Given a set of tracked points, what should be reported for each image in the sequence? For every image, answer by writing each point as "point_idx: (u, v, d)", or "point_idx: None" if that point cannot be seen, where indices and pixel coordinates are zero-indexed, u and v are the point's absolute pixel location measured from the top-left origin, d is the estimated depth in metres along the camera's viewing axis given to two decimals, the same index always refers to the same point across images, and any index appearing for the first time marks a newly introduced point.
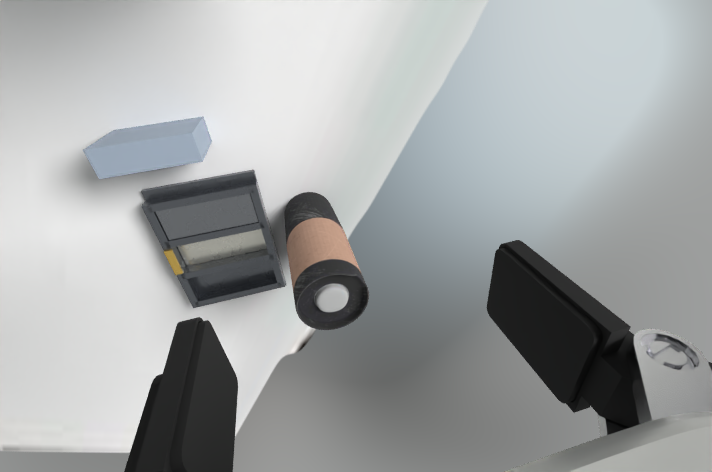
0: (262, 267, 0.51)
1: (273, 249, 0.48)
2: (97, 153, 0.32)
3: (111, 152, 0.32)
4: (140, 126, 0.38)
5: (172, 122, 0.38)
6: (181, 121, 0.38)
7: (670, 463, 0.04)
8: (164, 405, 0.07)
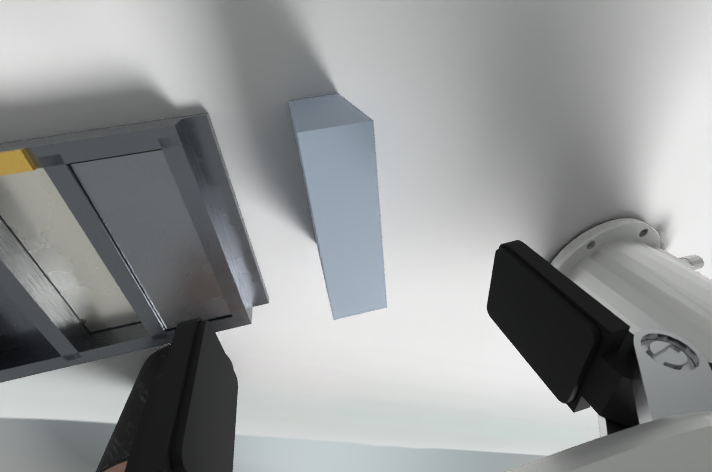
0: (23, 326, 0.22)
1: (97, 357, 0.22)
2: (362, 148, 0.13)
3: (362, 177, 0.14)
4: None
5: None
6: None
7: (670, 463, 0.04)
8: (164, 405, 0.07)
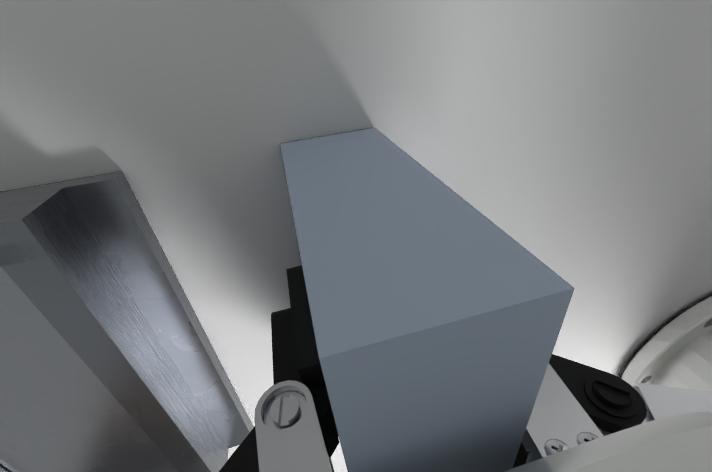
0: None
1: None
2: (519, 357, 0.04)
3: (498, 411, 0.05)
4: None
5: None
6: None
7: (670, 463, 0.04)
8: (301, 323, 0.08)
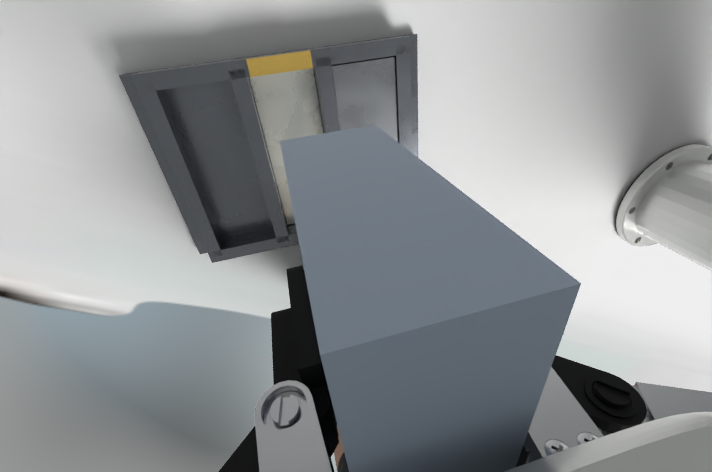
0: (243, 215, 0.27)
1: None
2: (523, 354, 0.04)
3: (502, 409, 0.05)
4: None
5: None
6: None
7: (670, 463, 0.04)
8: (301, 323, 0.08)
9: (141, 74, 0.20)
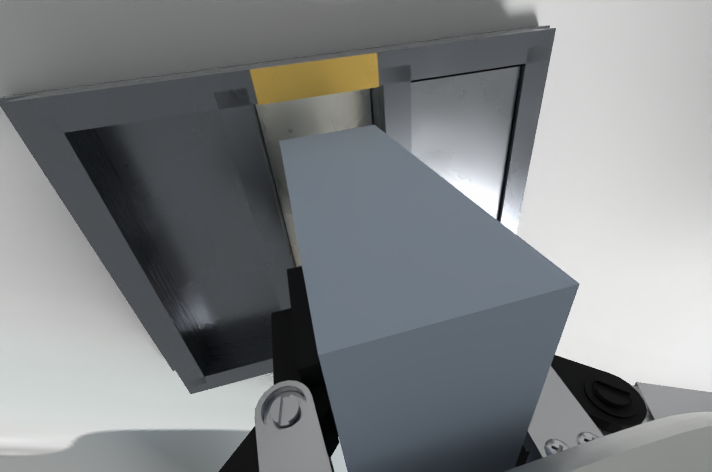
0: (241, 315, 0.17)
1: None
2: (522, 355, 0.04)
3: (501, 409, 0.05)
4: None
5: None
6: None
7: (670, 463, 0.04)
8: (301, 323, 0.08)
9: (28, 100, 0.09)
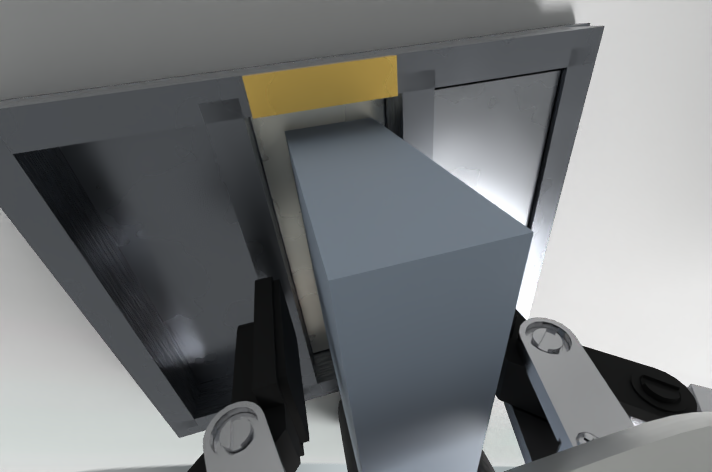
0: None
1: (334, 389, 0.16)
2: (491, 294, 0.05)
3: (476, 346, 0.06)
4: None
5: None
6: None
7: (670, 463, 0.04)
8: (262, 339, 0.08)
9: None
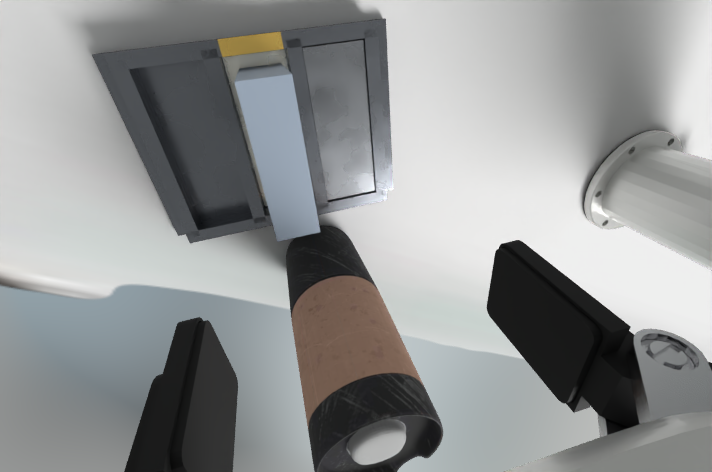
0: (220, 197, 0.28)
1: None
2: (286, 96, 0.18)
3: (288, 119, 0.19)
4: None
5: None
6: None
7: (670, 463, 0.04)
8: (164, 405, 0.07)
9: (113, 52, 0.20)
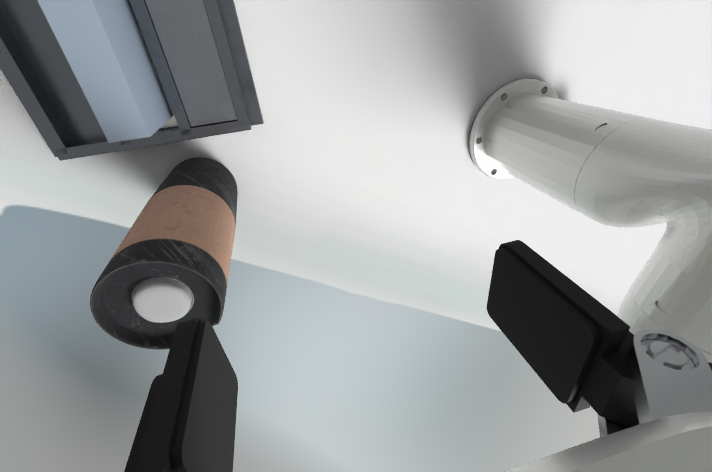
0: (89, 120, 0.31)
1: (142, 145, 0.31)
2: None
3: (89, 19, 0.21)
4: (140, 32, 0.28)
5: (156, 79, 0.30)
6: (160, 92, 0.30)
7: (670, 463, 0.04)
8: (164, 405, 0.07)
9: None
